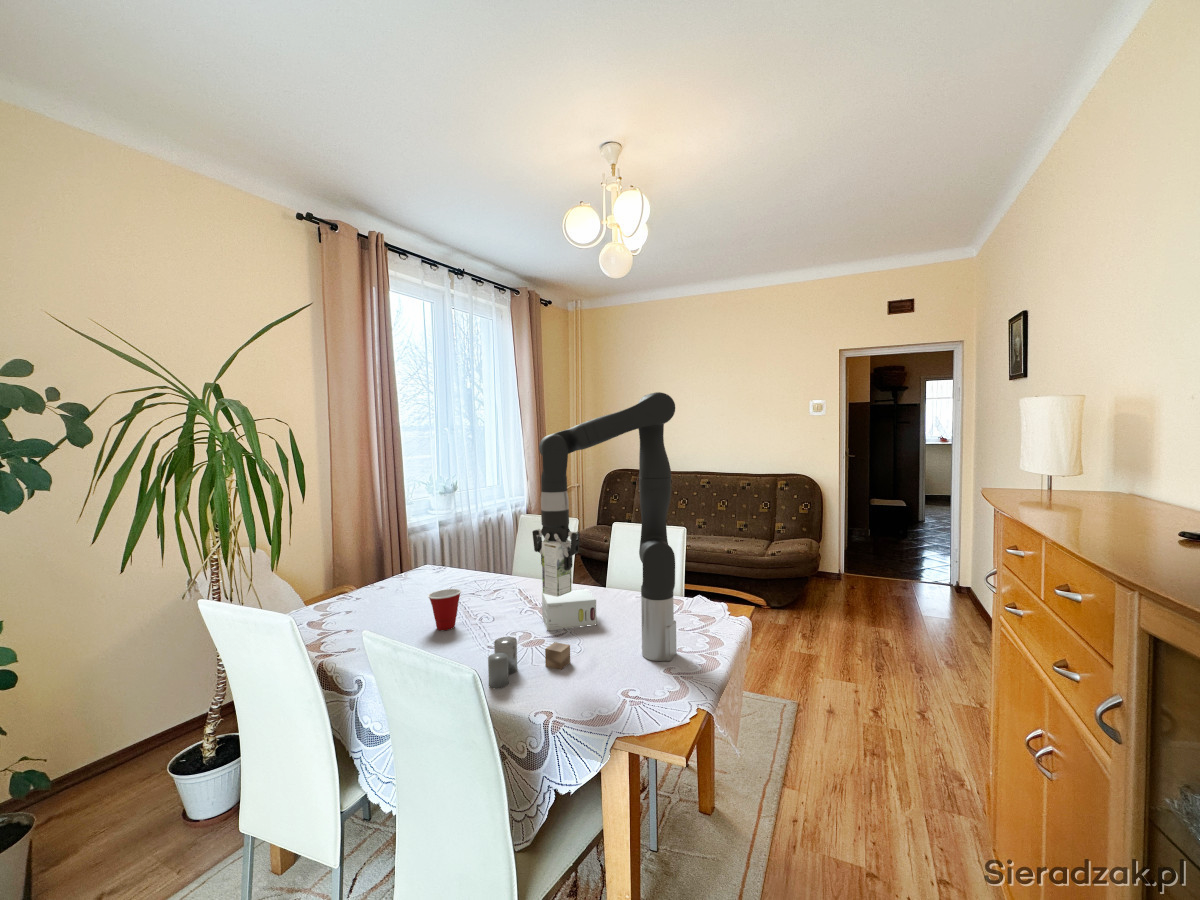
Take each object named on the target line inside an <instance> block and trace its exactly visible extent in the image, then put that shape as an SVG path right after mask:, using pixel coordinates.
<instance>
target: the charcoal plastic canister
mask: <svg viewBox="0 0 1200 900" xmlns="http://www.w3.org/2000/svg"><path fill="white" fill-rule="evenodd" d="M487 668H488V671H487V673H488V674H487V675H488V676H487V677H488V687H489V686H490V687H491V689H493V688H495V689H496V690H497V689H498V688H499V689H503V688H505V686H506V687H508V685H509V675H508V655H507V654H505V653H492V654H490V655H488V657H487ZM490 687H489V688H490ZM495 689H494V690H495Z"/></svg>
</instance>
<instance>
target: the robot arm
mask: <svg viewBox="0 0 1200 900" xmlns="http://www.w3.org/2000/svg"><path fill="white" fill-rule="evenodd" d="M675 412H676V403H675V401H674V399H673V397H671V396H670V395H669V394H667V393H665V392H659V391H657V392H656V391H655V392H652V393H648V394H645V395H644V396H642V397H641V398H640V399H639V401H638V403H636V404H635V405H632V406H630V407H628V408H624V409H623V410H620V411H616V412H613V413H609V414H606V415H602V416H599V417H598V416H597V417H595V418H591V419H590V420H587V421H584V422H581V423H579V424H577V425H574V426H572V427H570V428H567V429H564V430H560V431H557V432H554V433H551V434H548V435H546V436H544V437H543V438H542V439H541V440H540V442H539V444H538V451H539V453H540V455H541V459H542V471H541V476H540V477H541V478H540V482H541V483H540V484H541V485H540V487H541V495H540V515H541V517H540V519H541V520H540V521H541V525H542V528H541V529H540V528H537V529H534V530H533V531H532V540H533V542H532V543H533V549H534V552H536V553H539V555H540V565H542V542H543V541H557V542H558V543H560V544H561V549H562V551H563V553H564V555H565V557H564V563H565V570H567V571H568V570H570V569H571V570H572V568H573V556H574V555H576V554H578V553H579V551H580V549H579V548H580V535H581V534H580V532H579V530H578V531H570V528H569V525H570V505H569V504H570V503H569V502H570V501H569V494H568V477H567V476H568V475H567V470H568V462H569V461H568V459H569V454H571V453H574V452H577V451H582V450H586V449H589V448H592V447H594V446H597V445H599V444H602V443H604V442H608V441H611V439H614V438H616V437H620V436H622V435H623V434H624V435H625V434H626V433H629V432H632V431H635V430H638V435H639V461H638V463H639V471H638V473H639V475H638V483H639V485H638V488H639V489H638V490H639V504H640V505H639V506H640V507H639V509H640V514H641V515H640V516H641V530H640V540H639V549H638V552H639V553H638V554H639V559H640V562H641V563H642V584H641V587H640V594H641V599H640V600H641V603H640V605H641V608H640V609H641V610H640V611H641V655H642V657H643V658H645V659H646V660H650V661H653V662H664V661H665V662H666V661H667V662H671V661H672V659H673V658H674V657H675V656H676V655H677V620H674V619H675V618H674V616H675V614H674V613H675V612H674V611H675V610H674V607H675V606H674V589H675V586H676V557H675V556H676V555H675V552H674V550H673V548H672V547H671V546H670V545H669V541H668V540H669V539H668V533H667V518H668V512H669V509H670V508H669V507H670V503H671V498H672V470H671V466H670V460H669V458H668V454H667V451H666V448H665V441H664V439H665V438H664V431H665V430H664V429H665V428H664V427H665V424H666V423H668V422H670V421H671V419H673V417H674V415H675ZM542 536H543V538H544V540H542V539H543V538H542ZM568 540H570V541H571V547H570V544H569V543H568V544H566V545H564V544H563V542H565V541H568ZM567 548H568V550H567Z"/></svg>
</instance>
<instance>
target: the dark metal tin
mask: <svg viewBox="0 0 1200 900" xmlns="http://www.w3.org/2000/svg"><path fill="white" fill-rule="evenodd" d="M517 642H518V641H517V638H516V637H513V636H501V637H499V638H496V639H495V640H494V641H493V646H494V647H493V648H494V650H493V651H494V653H493V654H495V653H505V654H507V655H508V676H510V675H512V674H515V673H516V672H517V671H518V643H517Z"/></svg>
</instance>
